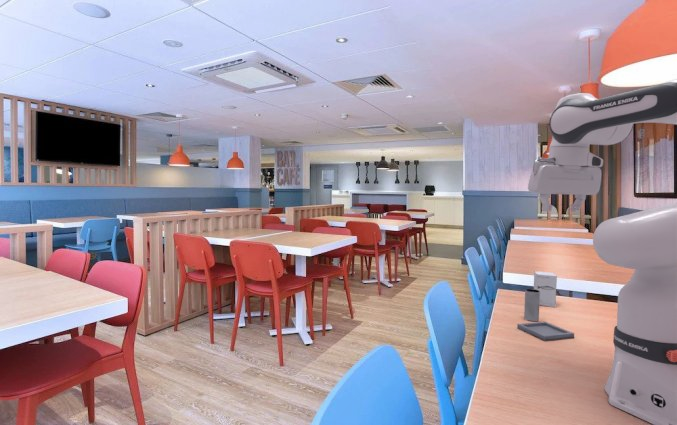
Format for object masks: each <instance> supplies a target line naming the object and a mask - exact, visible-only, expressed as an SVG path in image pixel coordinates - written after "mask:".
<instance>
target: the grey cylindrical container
mask: <svg viewBox="0 0 677 425" xmlns="http://www.w3.org/2000/svg"><path fill="white" fill-rule="evenodd" d="M524 293H525V294H524V308H523V309H524V313H523V314H524V315H523V318H524V320H526V321H528V322H532V323H534V322H540V321H539V320H540V305H539V302H540V291H539V290H535V289H534V288H526V289H525V290H524Z"/></svg>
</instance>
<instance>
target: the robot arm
mask: <svg viewBox="0 0 677 425" xmlns="http://www.w3.org/2000/svg"><path fill="white" fill-rule="evenodd" d="M548 122H549V123H548V125H549V131H550V134H551V136H552V138H551V142H550V144H549V147H548V157H538V158H537V159H536V160H535V161H534V162H533V164H532V169H531V172H530V175H529V179H528V183H527V184H528V186H527V190H528V192H529V193H531V194H536V195H537V194H538V195H539V197H538V198H539V200H540V203H541V210H542V212H552V208H553V204H550V200H549V199H551V195H574V199H575V200H574V202H573V204H570V210H569V211H571V212H577V213H578V212H580V211H581V207H582V205H583V204H584V202H585V201H586V199H587V196H596V195H597V194H599V191H600V189H601V183H602V169H601V168H602V167H603V166H604V159H603V158H601V157H600V156H597V155H596V154H594V153H592V152H591V151H590V150H589V149H590V145H593V146H594V145H596V146H597V145H599V146H610V145H617V144H620V143H621V142H623V141H624V140H625V139H627V138H628V137H629V135H630V134H631V132H633V128H634V124H643V123H646V124H648V123H651V124H652V123H653V124H665V125H666V124H668V125H676V126H677V78H675V79H672V80H668V81H665V82H661V83H659V84H655V85H651V86H647V87H642V88H638V89H634V90H630V91H625V92H622V93H618V94H614V95H609V96H606V97H602V98H597V97H595V96H594V94H592V93H590V92H589V93H588V92H577V93H570V94H567V95H565V96H563V97H561V98H560V99H559V100H557V104H556V105H555V109H554V110H553V112H552V114H551V116H550V118H549V121H548ZM592 245H593V249H594V251H595V253H596V255H597V256H598V257H599V259H601V260H602V261H603V262H605V263H606V264H609V265H612V266H615V267H619V268H624V269H628V270H629V269H631V270H634V271H633V273H632V275H631V277H630V278H629V280H628V281H627V283H626V284H624V285H623V286H622V287H621V289H620V290H619V292H618V295H617V309H616V310H617V313H616V315H617V316H616V325H615V326H614V327H613V328H614V329H613V345H614V353H613V360H612V364H611V369H610V372H609V375H608V378H607V381H606V383H605V385H604V390H605V393H606V395H607V396H608V404H609V405H611V406H613V407H615V408H617V409H619V410H621V411H624V412H626V413H628V414H631V415H632V416H635V417H636V418H639V419H641V420H643V421H645V422H648V423H650V424H652V425H677V202H674V203H669V204H665V205H661V206H657V207H653V208H649V209H645V210H640V211H637V212H633V213H630V214H625V215H621V216H617V217H613V218H609V219H606V220H604V221H602V222H600V223H599V224H598V226H597V227H596V228H595V230H594V233H593V236H592Z"/></svg>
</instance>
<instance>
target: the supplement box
mask: <svg viewBox="0 0 677 425" xmlns="http://www.w3.org/2000/svg"><path fill="white" fill-rule="evenodd" d="M533 272H534V274H533V289H535V290H539V291H540V302H539V306H544V307H549V306H550V307H551V308H556V303H557V282H558V281H557V280H558V275H557V274H556V273H555V272H549V271H537V270H535V271H533Z"/></svg>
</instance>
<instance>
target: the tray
mask: <svg viewBox="0 0 677 425" xmlns="http://www.w3.org/2000/svg"><path fill="white" fill-rule="evenodd" d="M516 328H517V329H518V330H520V331H521V332H524V333H526V334H527V335H530V336H532V337H534V338H537V339H539V340H541V341H543V342H550V341H552V342H553V341H560V340H561V341H562V340H571V339H575V332H572V331H570V330H567V329H564V328H563V327H559V326H557V325H555V324H552V323H550V322H548V321H537V322H526V323H517V327H516Z"/></svg>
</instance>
